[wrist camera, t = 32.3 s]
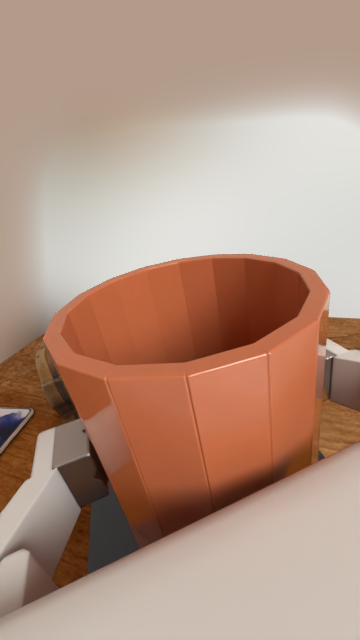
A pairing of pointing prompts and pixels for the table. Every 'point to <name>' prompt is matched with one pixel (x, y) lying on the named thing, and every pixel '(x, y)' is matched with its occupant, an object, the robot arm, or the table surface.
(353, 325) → the table surface
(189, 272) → the cup
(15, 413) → the smartphone
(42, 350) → the wooden carving
